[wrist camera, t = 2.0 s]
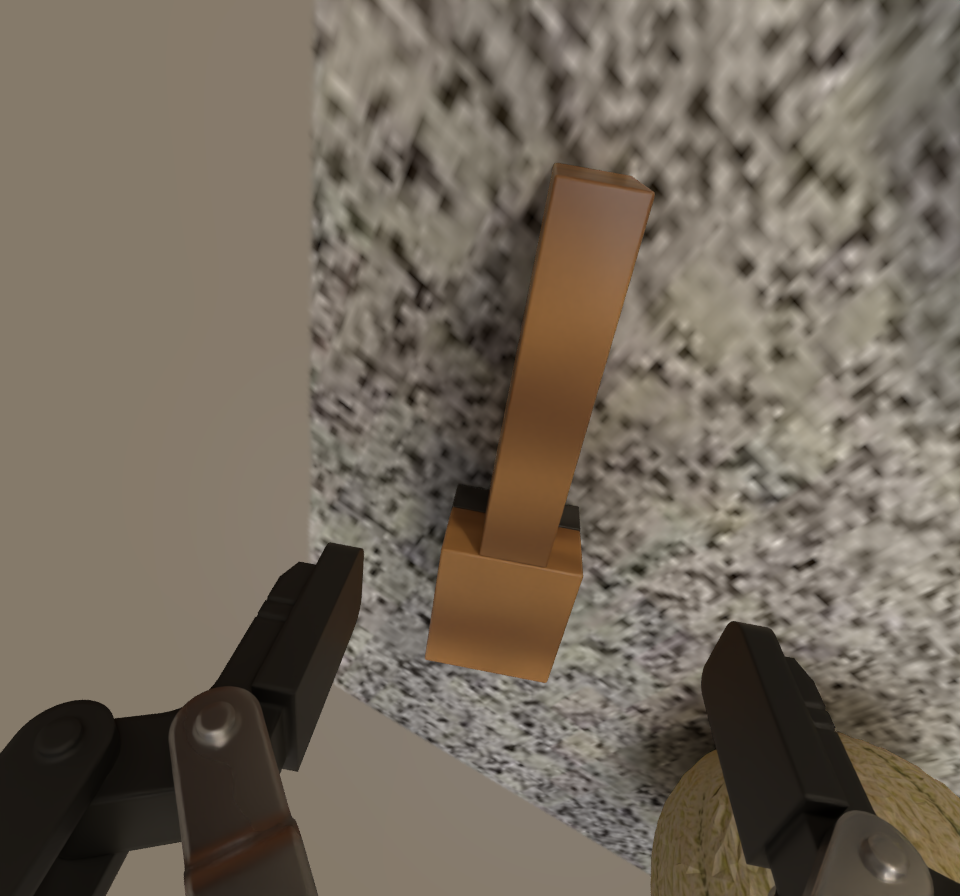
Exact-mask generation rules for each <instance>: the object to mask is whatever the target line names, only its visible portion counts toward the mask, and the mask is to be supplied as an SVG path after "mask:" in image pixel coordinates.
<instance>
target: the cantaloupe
mask: <svg viewBox="0 0 960 896" xmlns="http://www.w3.org/2000/svg"><path fill="white" fill-rule="evenodd" d="M835 732H836V731H835ZM837 733H838V735H839V737H840V739H841V741H842V743H843V745H844V748H845V750H846V752H847V754H848V756H849V758H850V760H851V763H852V765H853V767H854V769H855V771H856V773H857V775H858V778H859V780H860V782H861V784H862V786H863V788H864V790H865V793H866V795H867V797H868V799H869V801H870V803H871V805H872V808H873V810H874V811H875V813H876V815H877V816H878V817H880V818H882V819H883V820H885V821H886V822H888V823H890V824H891V825H892V826H894V827H895V828H896V829H897V830H899V831H900V832H901V833H902V834H903V835H904V836H905V837H906V838H907V839H908V840H909V841H910V842H911V843H912V845H913V846H914V847H915V848H916V850H917V851H918V852H919V854H920V855H921V857H922V858H923V860H924V862H925V863H926V865H927V867H929V868H931V869H932V870H934V871H936V872H938V873H940V874H942V875H944V876H946V877H948V878H950V879H952V880H954V881H956V882H958V883H960V798H959V797H957V796H956V795H955V794H954V793H953V792H952V791H951V790H950V789H949V788H948V787H947V786H946V785H945V784H943V783H941V782H939V781H937V780H936V779H934V778H932V777H931V776H929V775H928V774H926V773H925V772H923V771H922V770H921V769H920V768H919V767H918V766H916V765H914V764H912V763H910V762H908V761H906V760H904V759H903V758H901V757H899V756H897V755H895V754H893V753H891V752H889V751H887V750H886V749H884V748H881V747H877V746H874V745H872V744H869V743H867V742H865V741H863V740H859V739H853V738H851V737H849V736H847V735H845V734H843V733H839V732H837ZM774 885H775V882H774V879H773V875H772V872H771V869H768V868H763V867H758V866H753V865H748V864H746V861H745V857H744V853H743V849H742V845H741V841H740V838H739V834H738V830H737V826H736V822H735V818H734V815H733V811H732V807H731V803H730V799H729V795H728V792H727V788H726V784H725V780H724V776H723V773H722V769H721V765H720V761H719V757H718V753H717V750H714V751H712V752H710V753H708V754H706V755H705V756H704V757H702V758H701V759H700V760H699V761H698V762H697V763H696V764H695V765H694V766H693V767H692V768H691V769H690V770H688V771H687V772H686V773H685V774H684V775H683V776H682V778H681V779H680V781H679V782H678V784H677V785H676V787H675V788H674V790H673V791H672V793H671V794H670V796H669V797H668V799H667V800H666V802H665V804H664V807H663V809H662V812H661V815H660V817H659V820H658V823H657V828H656V831H655V836H654V842H653V849H652V856H651V896H768V893H769V892H770V890H771V889H772V887H773V886H774Z"/></svg>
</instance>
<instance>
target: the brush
mask: <svg viewBox="0 0 960 896" xmlns="http://www.w3.org/2000/svg"><path fill="white" fill-rule="evenodd" d="M654 197H655V193H654V192H653V191H651V190H650V189H649V188H647V187H646V186H645V185H643V184H642V183H640V182H639V181H638V180H636V179H635V178H634V177H632V176H628V175H623V174H617V173H612V172H606V171H600V170H595V169H589V168H584V167H578V166H573V165H567V164H561V163H555V164H554V165H553V169H552V174H551V179H550V185H549V190H548V195H547V200H546V205H545V210H544V215H543V220H542V225H541V230H540V235H539V240H538V245H537V250H536V255H535V261H534V266H533V271H532V276H531V281H530V286H529V291H528V296H527V301H526V306H525V311H524V316H523V321H522V326H521V332H520V337H519V342H518V347H517V352H516V357H515V362H514V367H513V372H512V377H511V382H510V387H509V392H508V397H507V403H506V408H505V413H504V418H503V423H502V428H501V433H500V438H499V443H498V448H497V453H496V458H495V463H494V468H493V473H492V479H491V484H490V489H489V490H486V489H481V488H476V487H470V486H465V485H460V484H458V485H457V489H456V493H455V497H454V501H453V505H452V509H451V513H450V517H449V521H448V525H447V529H446V533H445V537H444V541H443V545H442V549H441V555H440V561H439V568H438V574H437V581H436V588H435V594H434V601H433V607H432V614H431V621H430V627H429V634H428V640H427V647H426V654H425V659H426V660H430V661H435V662H440V663H445V664H450V665H456V666H461V667H466V668H471V669H476V670H481V671H486V672H492V673H497V674H502V675H507V676H512V677H517V678H522V679H527V680H533V681H538V682H543V683H546V682H547V681H548V678H549V675H550V672H551V669H552V666H553V663H554V660H555V657H556V654H557V651H558V649H559V646H560V643H561V640H562V637H563V634H564V631H565V628H566V625H567V622H568V619H569V616H570V613H571V611H572V608H573V605H574V602H575V599H576V596H577V593H578V590H579V587H580V584H581V581H582V578H583V567H582V552H581V538H580V518H579V507H576V506H571V505H565V503H566V499H567V496H568V493H569V489H570V486H571V482H572V479H573V475H574V472H575V469H576V465H577V462H578V458H579V455H580V451H581V448H582V444H583V441H584V438H585V434H586V431H587V427H588V424H589V420H590V417H591V414H592V410H593V407H594V403H595V400H596V396H597V393H598V389H599V386H600V383H601V379H602V376H603V372H604V369H605V365H606V362H607V359H608V355H609V352H610V348H611V345H612V341H613V338H614V335H615V331H616V328H617V324H618V321H619V317H620V314H621V310H622V307H623V304H624V300H625V297H626V293H627V290H628V286H629V283H630V280H631V276H632V273H633V269H634V266H635V262H636V259H637V255H638V252H639V249H640V245H641V242H642V238H643V235H644V231H645V228H646V225H647V221H648V218H649V214H650V211H651V207H652V204H653V200H654Z"/></svg>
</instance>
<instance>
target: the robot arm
mask: <svg viewBox="0 0 960 896" xmlns="http://www.w3.org/2000/svg"><path fill="white" fill-rule="evenodd" d="M363 561H364V551H363V549H362V548H357V547H352V546H346V545H341V544H336V543H331V542H330V543H328V544H327V546H326V547H325V549H324V551H323V553H322V554H321V556H320V558H319V560H318V562H317V564H316V565H315V564H309V563H304V562H298V563H297V564H295V565H294V566H293V567H292V568H291V569H289V570H288V571H286V572H285V573H284V574H283V575H281V576H280V577H279V579H278V581H277V582H276V584H275V585H274V587H273V588H272V590H271V592H270V593H269V595H268V598H267V600H265V602H264V603H263V605H262V607H261V608H260V610H259V612H258V615H257V617H255V618H254V620H253V622H252V623H251V625H250V627H249V628H248V630H247V632H246V633H245V635H244V637H243V638H242V640H241V642H240V644H239V645H238V647H237V648H236V650H235V652H234V653H233V655H232V657H231V658H230V660H229V662H228V663H227V665H226V667H225V668H224V670H223V672H222V673H221V675H220V677H219V678H218V680H217V681H216V682H215V684H214V685H213V686H212V687H211V688H210V689H209V690H207V691H205V692H202V693H201V694H199V695H197V696H195V697H194V698H192V699H191V700H190V701H188V702H187V703H186V704H185V705H184V706H183V707H181V708H179V709H176V710H173V711H169V712H164V713H158V714H149V715H141V716H132V717H124V718H115V719H114V718H113V715H112V713H111V711H110V710H109V709H108V708H107V707H106V706H105V705H103V704H101V703H99V702H96V701H91V700H75V701H70V702H66V703H63V704H59V705H56V706H54V707H52V708H50V709H47V710H45V711H44V712H42V713H40V714H39V715H37V716H36V717H34V718H33V719H31V720H30V721H29V722H28V723H26V724H25V725H24V726H23V727H22V728H21V729H20V730H19V731H18V732H17V734H16V735H15V736H14V737H13V738H12V740H11V741H10V742H9V743H8V744H7V746H6V747H5V748H4V749H3V751H2V752H1V753H0V896H106V894H107V892H108V890H109V888H110V886H111V884H112V883H113V881H114V879H115V876H116V875H117V873H118V871H119V869H120V867H121V865H122V863H123V862H124V859H125V858H126V856H127V854H128V852H129V851H131V850H137V849H143V848H148V847H155V846H160V845H166V844H172V843H177V842H182V848H183V855H184V865H185V871H184V885H185V895H186V896H318V893H317V890H316V886H315V883H314V879H313V876H312V872H311V868H310V865H309V862H308V858H307V854H306V851H305V848H304V844H303V840H302V837H301V834H300V831H299V828H298V825H297V823H296V821H295V819H293V818H292V816H291V813H290V810H289V807H288V803H287V799H286V796H285V792H284V789H283V785H282V781H281V778H280V772H281V769H287V770H292V771H297V772H298V770H299V767H300V765H301V762H302V760H303V757H304V755H305V752H306V750H307V747H308V744H309V742H310V739H311V737H312V734H313V732H314V729H315V727H316V724H317V721H318V719H319V717H320V714H321V711H322V709H323V706H324V704H325V701H326V699H327V696H328V693H329V691H330V688H331V686H332V683H333V681H334V678H335V676H336V673H337V671H338V668H339V666H340V663H341V660H342V658H343V655H344V653H345V650H346V648H347V645H348V643H349V640H350V638H351V635H352V632H353V630H354V627H355V625H356V622H357V618H358V614H359V610H360V605H361V598H362V581H363ZM701 688H702V696H703V700H704V704H705V707H706V711H707V715H708V719H709V723H710V727H711V730H712V734H713V738H714V742H715V746H716V750H717V753H718V757H719V761H720V765H721V769H722V773H723V776H724V780H725V784H726V788H727V792H728V795H729V799H730V803H731V807H732V811H733V815H734V818H735V822H736V826H737V830H738V834H739V838H740V841H741V845H742V849H743V853H744V857H745V861H746V864H748V865H753V866H758V867H763V868H768V869H771V872H772V875H773V879H774V882H775V885H774V886H773V887H772V889H771V890H770V892H769V893H768V896H960V883H958V882H956V881H954V880H952V879H950V878H948V877H946V876H944V875H942V874H940V873H938V872H936V871H934V870H932V869H931V868H929V867H927V865H926V863H925V862H924V860H923V858H922V857H921V855H920V854H919V852H918V851H917V850H916V848H915V847H914V846H913V845H912V843H911V842H910V841H909V840H908V839H907V838H906V837H905V836H904V835H903V834H902V833H901V832H900V831H899V830H897V829H896V828H895V827H894V826H892V825H891V824H890V823H888V822H886V821H885V820H883V819H882V818H880V817H878V816H877V815H876V813H875V811H874V810H873V808H872V805H871V803H870V801H869V799H868V797H867V795H866V793H865V790H864V788H863V786H862V784H861V782H860V780H859V778H858V775H857V773H856V771H855V769H854V767H853V765H852V763H851V760H850V758H849V756H848V754H847V752H846V750H845V748H844V745H843V743H842V741H841V739H840V737H839V735H838V733H837V732H835V730H834V728H835V726H834V724H833V722H832V720H831V718H830V715H829V713H828V711H825V705H824V703H823V700H822V698H821V696H820V694H819V692H818V690H817V688H816V685H815V683H814V681H813V680H812V679H811V678H810V677H809V675H808V674H807V673H806V672H805V671H804V670H803V668H802V667H801V666H800V665H799V664H798V663H797V661H796V660H795V659H794V658H790V657H785V656H784V654H783V652H782V649H781V647H780V645H779V642H778V640H777V638H776V636H775V634H774V632H773V631H772V630H771V629H770V628H767V627H762V626H757V625H752V624H746V623H741V622H736V621H732V622H730V623H729V624H728V625H727V626H726V628H725V630H724V631H723V633H722V635H721V637H720V639H719V640H718V642H717V644H716V646H715V648H714V649H713V651H712V653H711V655H710V657H709V659H708V660H707V662H706V664H705V666H704V669H703V673H702V680H701Z"/></svg>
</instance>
